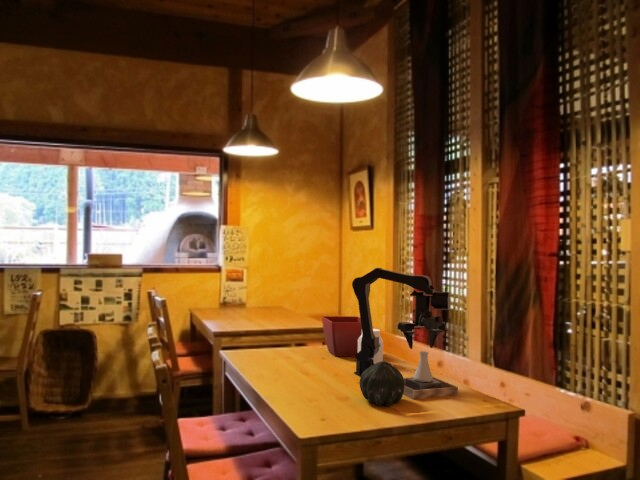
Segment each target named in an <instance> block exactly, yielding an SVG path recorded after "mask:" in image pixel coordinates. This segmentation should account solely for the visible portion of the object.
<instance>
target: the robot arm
mask: <svg viewBox="0 0 640 480" xmlns="http://www.w3.org/2000/svg"><path fill="white" fill-rule="evenodd" d="M379 279H382V280H387V281H391V282H394V283H400V284H403V285H406V286H408V287H410V288H412V289H413V291H412V292H411V293H410V294H409V296H410V297H414V309H413V310H412V313H414V320H412V322H408V321H399V322H398V324H397V330H400V333H401V332H402V334H403V335H404V337H405V340H406V342H407V344H408V347H409V349H411V350H413V347H414V346H413V343H414V342H413V341H414V335H415V333H416V332H415V331H414V330H415V329H418V330H419V329H425V330H428V342H429V348H430V349H432V348H434V344H435V342H436V339H437V338H438V335H440V333H443V332H444V331H446V330H447V329H446V328H447V325H446V323H445V322H444V321H443V317H442V316H437V315H436V316H433V312H432V311H431V307H433V309H434V310H443V311H447V310H448V311H449V310H450V308H451V297H450V292H449V291H437V290H436V289H435V287H434V286H433V284H432V283H433V282H432V279H431V277H430V276H427V275H419V274H415V275H414V274H406V273H402V272H397V271H393V270H388V269H385V268H382V267H375V268H373V269H372V270H371V271H369V272H368V273H365V274H364V275H363V276H359V277H355V278H354V279H353V281H352V283H351V286H352V289H353V293H354V296H355V297H356V299H357V302H358V313H359V317H360V319H361V327H362V340H361V351H360V352H358V353H357V354H356V355H355V356H354V357H355V360H356V365H355V371H354V372H353V373H354V375H357V376H358V377H361V375H362V373H363V372H364V371H365V370H366V369H367V368H369V367H370V366H372V365H374V363H373V361H374V360H373V359H372V358H374V355H375V354H377V352H378V351H379V347H380V344H379V337H375V335H374V333H373V329H374V327H373V321H372V313H371V306H370V304H371V303H370V293H371V285H372V284H373V283H376V282H377V281H378V280H379Z"/></svg>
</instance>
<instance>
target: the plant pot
mask: <svg viewBox="0 0 640 480" xmlns="http://www.w3.org/2000/svg"><path fill="white" fill-rule="evenodd" d="M321 320H322V329H323V334H324V339H325V343H326V347H327V350H328V352H329V353H330V354H331V355H333V356H334V357H337V356H340V357H355V355H356V354H357V353H358V339H359V337H360V336H361V334H362V327H361V319H360V316H355V315H353V316H348V315H347V316H345V315H344V316H341V315H340V316H338V315H337V316H336V315H334V316H332V315H331V316H329V315H327V316H325V315H324V316H321Z"/></svg>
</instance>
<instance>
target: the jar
mask: <svg viewBox="0 0 640 480" xmlns="http://www.w3.org/2000/svg"><path fill="white" fill-rule="evenodd" d="M373 333H374V335H375V337H379V344H380V347H379V351H378V352H377V354H375V355H374V358H372V359H373V360H374V361H373V363H374V364H376V363H378V362H381V361H384V359H383V358H384V340H383V338H382V336H381V330H380V329H377V328H373ZM361 340H362V334H361V336H360V337H359V339H358V352H360V351H361Z"/></svg>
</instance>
